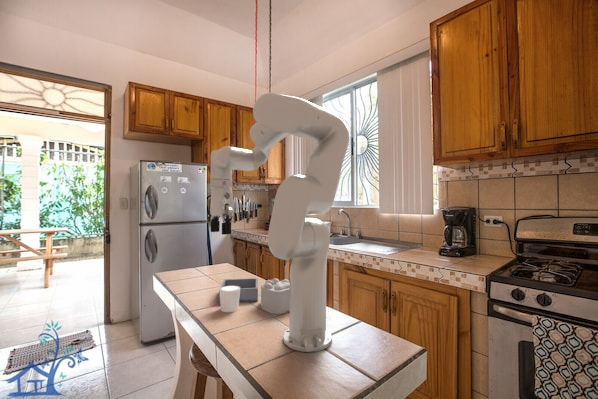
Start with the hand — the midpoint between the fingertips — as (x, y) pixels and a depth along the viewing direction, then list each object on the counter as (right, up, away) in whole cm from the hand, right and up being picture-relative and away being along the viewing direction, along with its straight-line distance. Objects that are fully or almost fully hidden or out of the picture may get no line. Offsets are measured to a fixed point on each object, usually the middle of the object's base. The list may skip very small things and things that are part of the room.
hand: (220, 232), depth 96 cm
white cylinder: (+5, -25, -6) cm, 26 cm away
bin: (+5, -25, +7) cm, 27 cm away
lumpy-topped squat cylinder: (+20, -25, -3) cm, 32 cm away
